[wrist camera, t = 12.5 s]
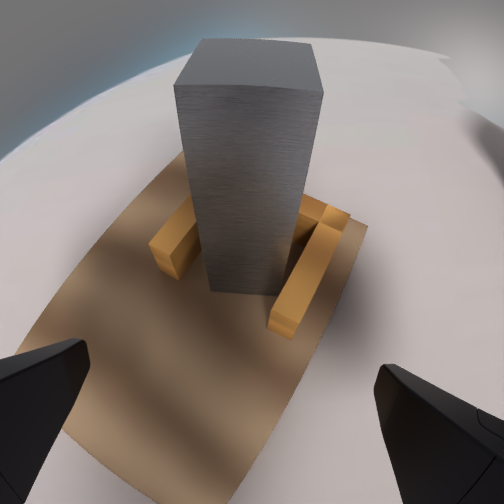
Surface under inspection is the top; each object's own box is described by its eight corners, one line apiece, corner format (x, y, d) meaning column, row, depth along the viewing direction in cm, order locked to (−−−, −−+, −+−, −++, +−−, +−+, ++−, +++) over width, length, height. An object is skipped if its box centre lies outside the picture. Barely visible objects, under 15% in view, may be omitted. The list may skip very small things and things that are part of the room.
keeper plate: (209, 525, 12) (200, 549, 8) (15, 371, 16) (-21, 354, 12) (363, 234, 22) (382, 198, 19) (185, 158, 26) (179, 121, 22)
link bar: (278, 296, 18) (323, 92, 7) (210, 291, 18) (173, 85, 7) (279, 240, 20) (310, 44, 9) (218, 235, 21) (202, 39, 9)
